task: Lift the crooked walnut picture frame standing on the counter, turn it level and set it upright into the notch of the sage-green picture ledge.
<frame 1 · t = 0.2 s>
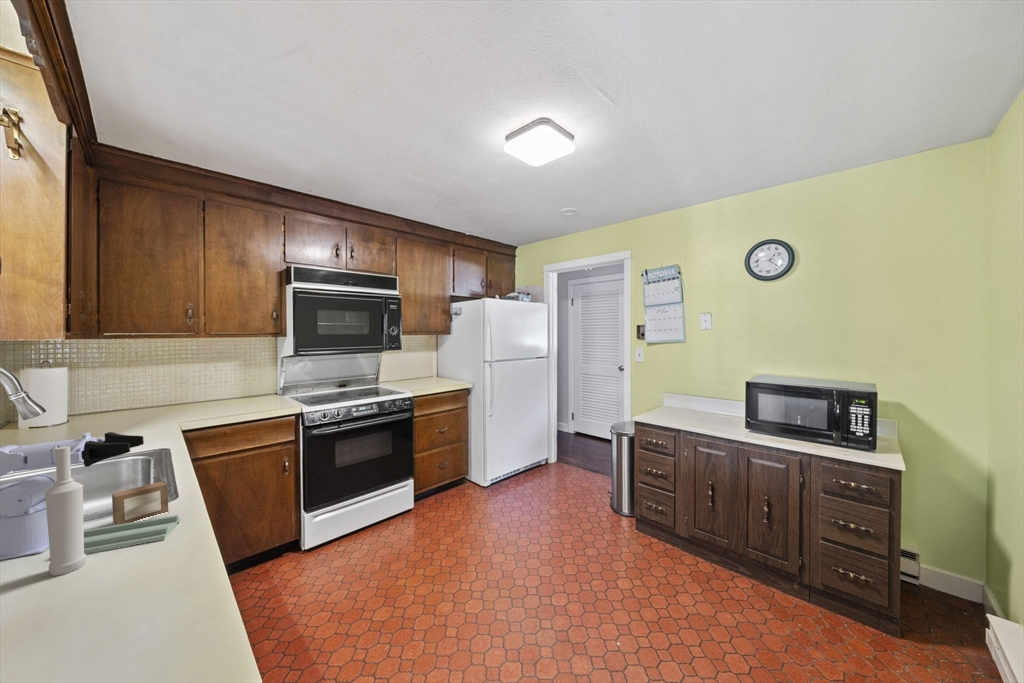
hand: (136, 443, 98), 21 cm above the counter, tool horizontal, fingers open, 7 cm apart
bottle: (68, 569, 82), on the counter
picture frame: (141, 519, 104), on the counter
picture ledge: (124, 538, 94), on the counter
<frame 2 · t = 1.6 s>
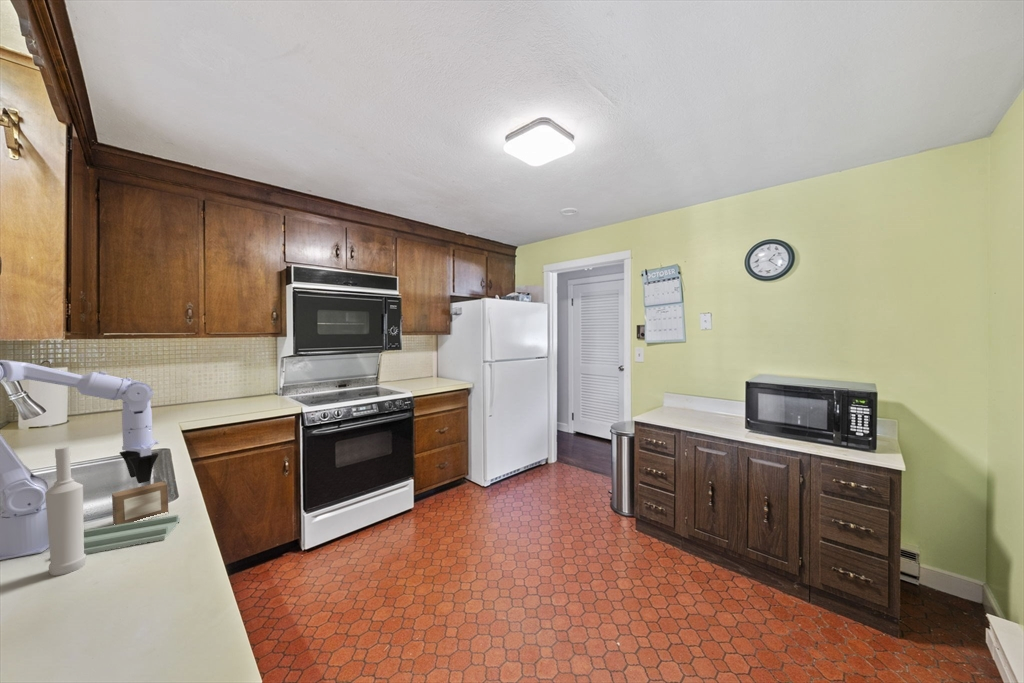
hand: (139, 479, 104), 10 cm above the counter, tool pointing down, fingers open, 7 cm apart
nothing on the counter moved.
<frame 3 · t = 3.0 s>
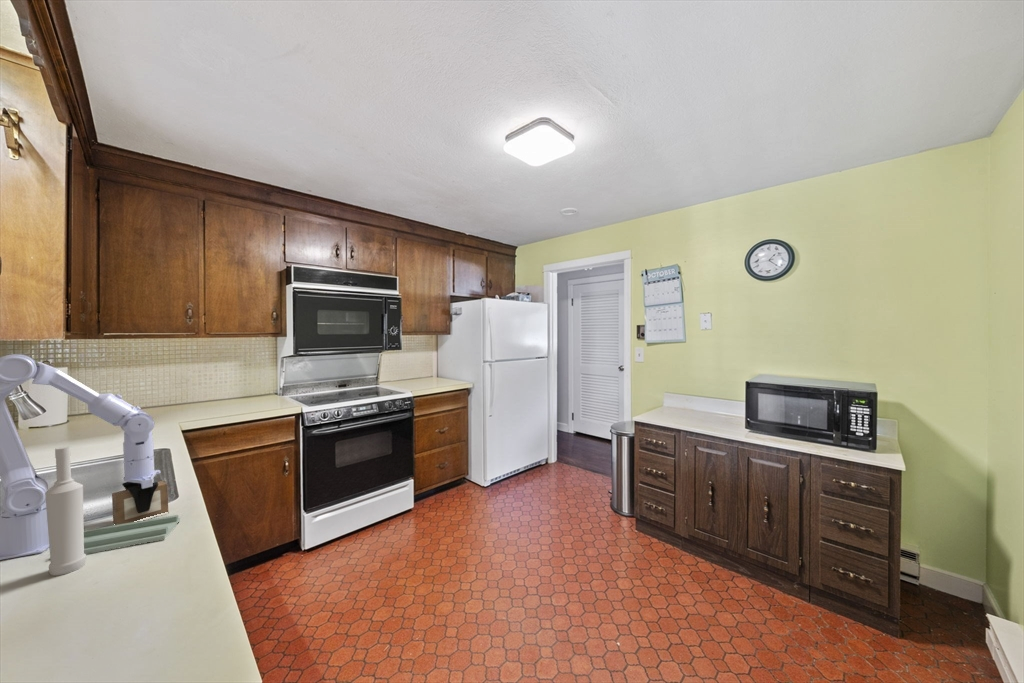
hand: (141, 509, 104), 2 cm above the counter, tool pointing down, fingers closed on picture frame, 4 cm apart
picture frame: (141, 518, 104), on the counter, touching gripper
everything else where it was.
when the fingers open (5 cm above the counter, at t = 6.3 s): picture frame stays where it is, resting on picture ledge.
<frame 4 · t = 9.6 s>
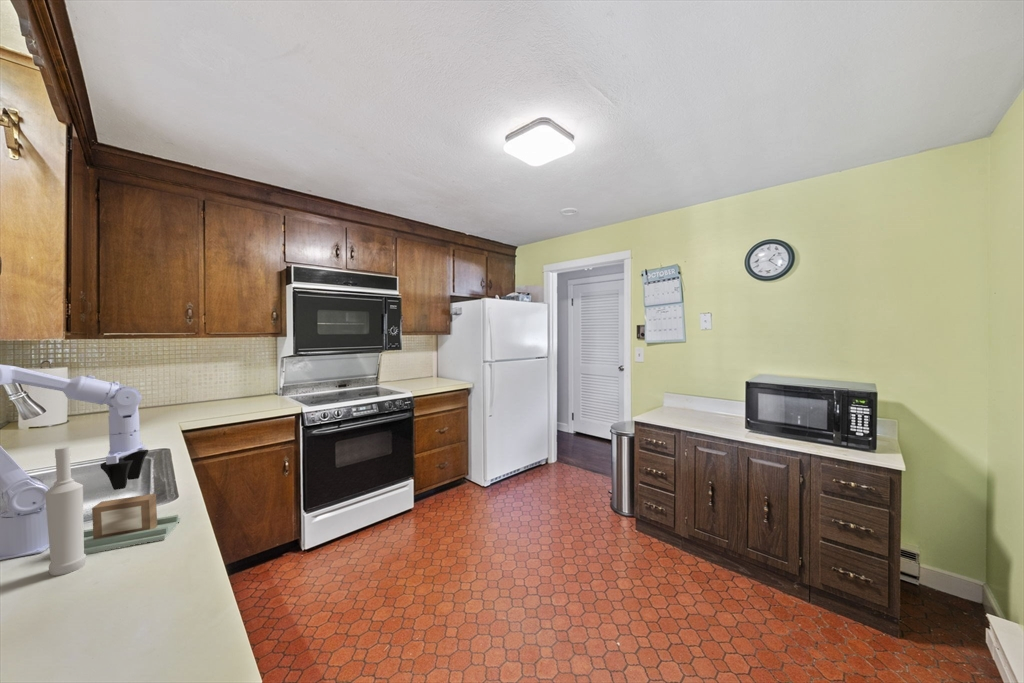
hand: (126, 483, 104), 9 cm above the counter, tool pointing down, fingers open, 7 cm apart
picture frame: (126, 534, 94), point 1 cm above the counter, touching picture ledge
everything else where it was.
at the end: picture frame 0.4 cm off-centre on the picture ledge, point 1.0 cm above the picture ledge's base; picture frame tilted 0°; the gripper is holding nothing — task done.
